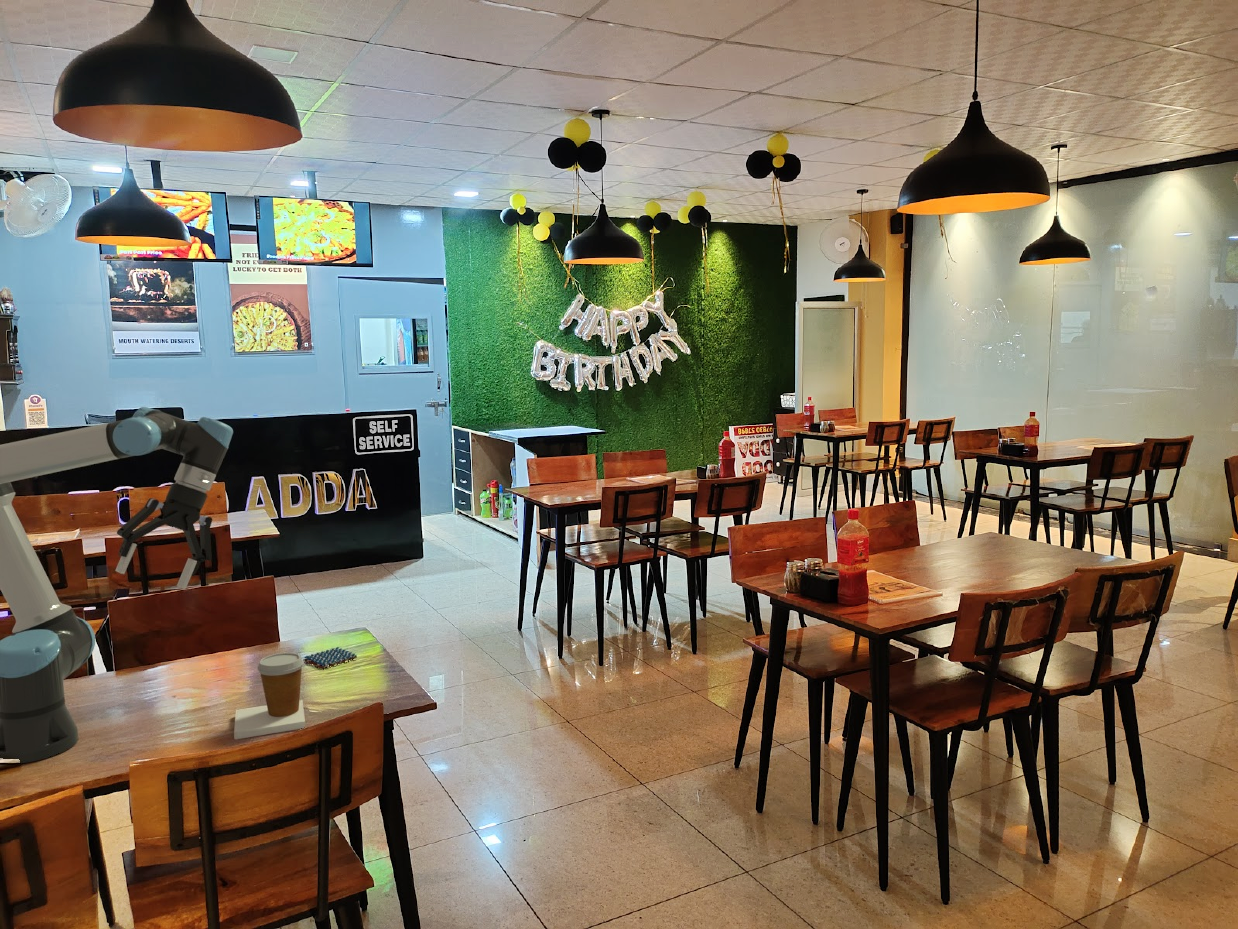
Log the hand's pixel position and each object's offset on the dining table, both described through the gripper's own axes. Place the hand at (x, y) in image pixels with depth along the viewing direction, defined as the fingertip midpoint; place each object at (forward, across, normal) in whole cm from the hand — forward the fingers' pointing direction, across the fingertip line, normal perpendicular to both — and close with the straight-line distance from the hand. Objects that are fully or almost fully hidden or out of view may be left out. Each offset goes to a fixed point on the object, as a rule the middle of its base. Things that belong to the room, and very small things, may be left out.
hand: (151, 580), depth 184 cm
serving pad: (+22, +28, -19) cm, 40 cm away
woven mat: (+10, +56, +6) cm, 57 cm away
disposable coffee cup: (+19, +30, -19) cm, 40 cm away
